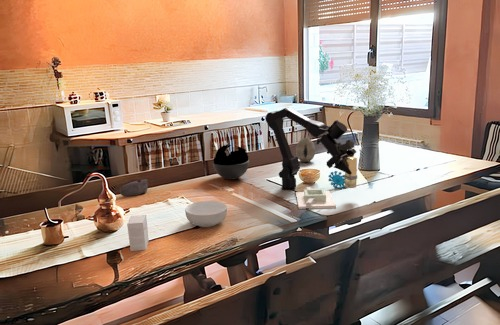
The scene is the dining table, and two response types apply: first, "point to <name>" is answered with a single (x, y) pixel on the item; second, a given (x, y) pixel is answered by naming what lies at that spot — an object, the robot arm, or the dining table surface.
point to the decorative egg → (305, 150)
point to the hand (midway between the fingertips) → (353, 172)
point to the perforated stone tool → (134, 188)
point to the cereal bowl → (206, 213)
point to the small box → (138, 232)
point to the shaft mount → (315, 199)
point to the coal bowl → (231, 162)
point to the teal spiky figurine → (337, 179)
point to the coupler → (351, 179)
